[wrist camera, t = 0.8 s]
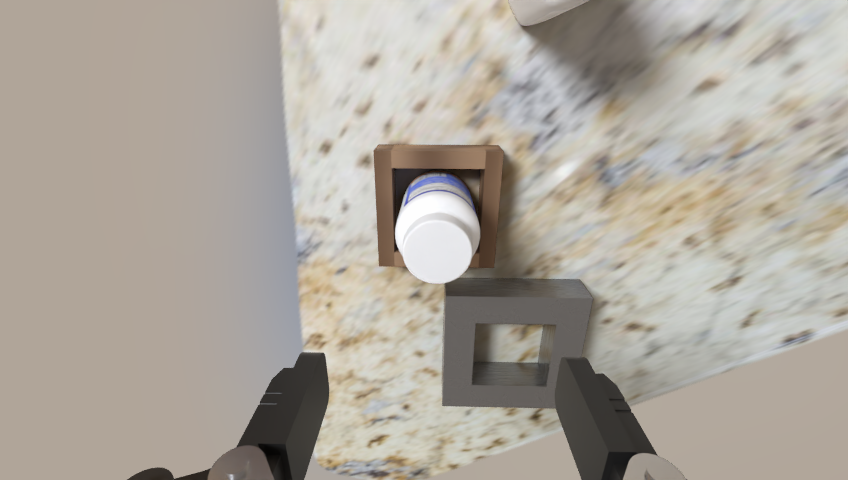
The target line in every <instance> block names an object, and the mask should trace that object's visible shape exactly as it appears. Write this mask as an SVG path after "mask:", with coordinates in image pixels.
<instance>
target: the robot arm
mask: <svg viewBox="0 0 848 480" xmlns="http://www.w3.org/2000/svg"><path fill="white" fill-rule="evenodd" d="M328 399H329V382H328V374H327V366H326V358H325V354H324V353H304V352H302V353H301V354H300V355H299V357H298V359H297V361H296V364H295V366H294V368H284V369H282V370H281V371H280V372H279V373H278V374H277V375H276V376H275V377H274V378H273V379H272V380H271V382H270V384H269V386H268V388H267V390H266V392H265V395H264V396H263V398H262V399H261V401H260V405H258V407H257V409H256V411H255V413H254V415H253V417H252V419H251V420H250V422H249V424H248V426H247V428H246V430H245V432H244V434H243V436H242V438H241V440H240V441H239V443H238V445H237V447H236V448H234V449H232V450H230V451H228V452H226V453H225V454H223V455H222V456H221V457H220V458H219V459H218V460H217V461H216V462H215V463H214V465H213V466H212V468H210V469H208V470H205V471H202V472H198V473H195V474H191V475H187V476H184V477H180V478H176V479H174V478H173V475H172V473H171V472H170V471H169V470H167V469H165V468H151V469H147V470H144V471H142V472H139V473H137V474H135V475H134V476H132V477H130V478H129V479H128V480H304V478H305V475H306V472H307V469H308V465H309V462H310V459H311V456H312V453H313V450H314V446H315V443H316V440H317V437H318V434H319V431H320V427H321V424H322V421H323V418H324V415H325V412H326V409H327V405H328ZM555 406H556V410H557V413H558V416H559V419H560V421H561V424H562V427H563V430H564V432H565V435H566V438H567V440H568V443H569V446H570V449H571V451H572V454H573V457H574V460H575V462H576V465H577V468H578V471H579V473H580V476H581V479H582V480H687V479H685V477H684V475H683V474H682V473H681V472H680V471H679V470H678V469H677V468H676V467H675V466H674V465H673V464H672V463H670V462H669V461H667V460H665V459H664V458H661V457H659V456H658V455H657V454H656V452H655V450H654V449H653V447H652V445H651V443H650V442H649V440H648V438H647V437H646V435H645V433H644V431H643V430H642V428H641V426H640V425H639V423H638V421H637V419H636V418H635V416H634V414H633V413H631V409H630V407H629V406H628V404H627V402H625V400H624V397H623V396H622V394H621V392H620V390H619V389H618V387H617V385H615V384H614V383H613V382H612V381H611V380H610V379H609V378H608V377H607V376H605V375H604V374H595V372H594V371H593V369H592V367H591V365H590V363H589V361H588V360H587V359H586V358H584V357H562V358H561V361H560V365H559V371H558V377H557V382H556V388H555Z"/></svg>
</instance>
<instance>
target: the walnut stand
mask: <svg viewBox="0 0 848 480" xmlns="http://www.w3.org/2000/svg"><path fill="white" fill-rule="evenodd" d="M503 154H504V152H503V150H502V149H501V148H500V147H499V146H498V145H378V146H377V147H376V148H375V150H374V168H375V189H376V210H377V231H378V252H379V266H394V267H406V265H405V263H404V260H403V256H402V255H401V253H400V251H399V249H398V247H397V244H396V239H395V228H396V223H397V219H396V182H395V168H422V169H480V186H479V202H478V222H479V226H480V241H479V245H478V248H477V250H476V252H475V254H474V255H473V257H472V260H471V263H470V265H469V267H468V268H494V263H495V251H496V238H497V226H498V214H499V202H500V190H501V178H502V166H503Z"/></svg>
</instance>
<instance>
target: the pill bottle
mask: <svg viewBox="0 0 848 480" xmlns="http://www.w3.org/2000/svg"><path fill="white" fill-rule="evenodd" d="M395 239H396V244H397V247H398V249H399V251H400V253H401V255H402V256H403V260H404V263H405V265H406V267H407V268H408V270H409V271H410V272H411V273H412V274H413V275H414V276H415V277H417V278H418V279H420V280H422V281H424V282H427V283H433V284H442V283H447V282H450V281H453V280H455V279H457V278H458V277H460V276H461V275H462V274H463V273H464V272H465V271H466V270H467V268H468V267H469V265H470V263H471V260H472V257H473V255H474V254H475V252H476V250H477V248H478V245H479V241H480V226H479V222H478V218H477V215H476V212H475V208H474V205H473V202H472V198H471V194H470V192H469V190H468V188H467V186H466V185H465V184H464V182H463V181H462V180H461V179H460V178H459V177H457V176H456V175H454V174H452V173H450V172H447V171H442V170H433V171H428V172H425V173H423V174H421V175H419V176H418V177H417V178H415V179H414V180H413V181H412V182H411V183H410V185H409V186H408V188H407V190H406V192H405V194H404V197H403V201H402V205H401V209H400V213H399V216H398V219H397V223H396V228H395Z"/></svg>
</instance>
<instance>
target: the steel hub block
mask: <svg viewBox="0 0 848 480" xmlns="http://www.w3.org/2000/svg"><path fill="white" fill-rule="evenodd" d="M592 302H593V298H592V296H591V295H590V293H589V292H588V290H587V289H586V288H585V286H584V285H583V283H582V282H581V280H569V279H499V278H457V279H455V280H453V281H450V282H447V283H444V320H443V357H442V406H468V407H516V408H556V406H555V388H556V382H557V377H558V371H559V365H560V361H561V358H562V357H581V356H582V351H583V346H584V341H585V336H586V331H587V326H588V321H589V316H590V311H591V307H592ZM476 323H491V324H544V325H543V332H542V339H541V345H540V352H539V359H538V363H507V362H473V356H474V341H475V326H476Z"/></svg>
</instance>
